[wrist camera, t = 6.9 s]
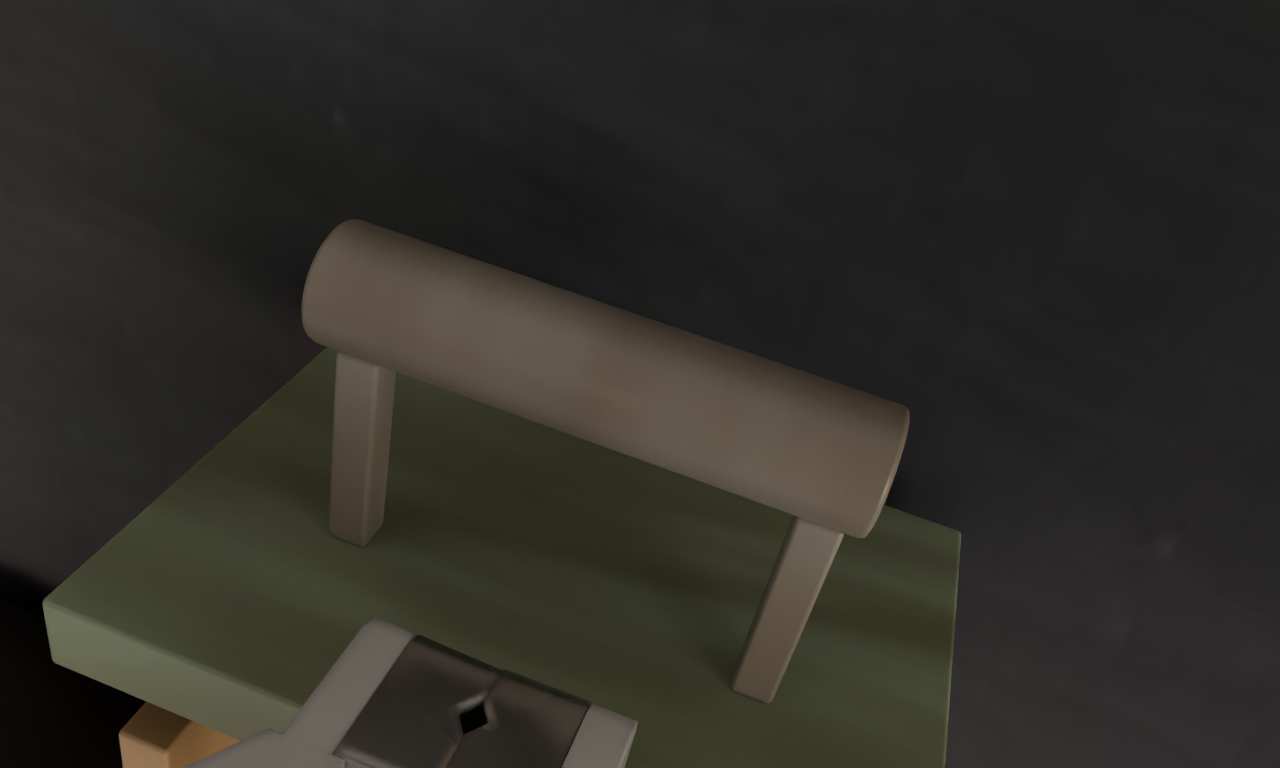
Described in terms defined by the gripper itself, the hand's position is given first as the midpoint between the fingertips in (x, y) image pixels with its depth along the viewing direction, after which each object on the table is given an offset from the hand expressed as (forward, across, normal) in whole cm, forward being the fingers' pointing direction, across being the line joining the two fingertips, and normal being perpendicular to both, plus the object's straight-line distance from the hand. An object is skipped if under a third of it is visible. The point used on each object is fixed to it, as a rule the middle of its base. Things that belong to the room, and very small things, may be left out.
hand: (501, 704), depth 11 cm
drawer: (+8, +1, +7) cm, 10 cm away
